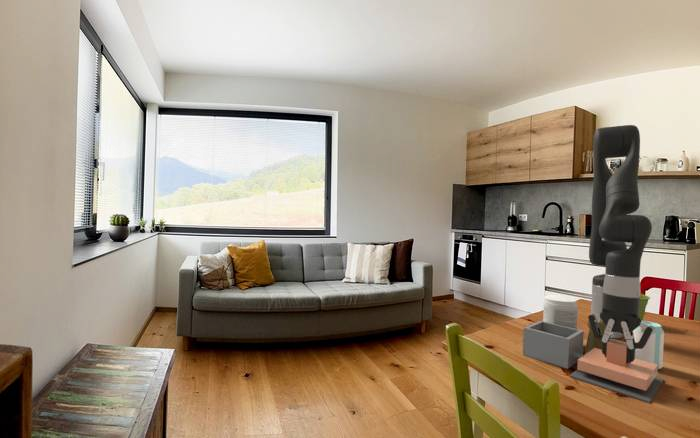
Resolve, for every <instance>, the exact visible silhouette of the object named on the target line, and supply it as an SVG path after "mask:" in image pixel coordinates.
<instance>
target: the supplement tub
mask: <svg viewBox="0 0 700 438" xmlns="http://www.w3.org/2000/svg"><path fill="white" fill-rule="evenodd" d="M578 308H579V307H578V300H577V299H576V298H573V297H570V296H569V297H568V296H564V295H557V294H556V295H555V294H554V295H553V294H551V295H545V296H544V298H543V311H542V312H543V314H542V315H543V317H542V321H544V322H548V323H553V324H557V325H561V326H565V327H569V328H574V329H578Z"/></svg>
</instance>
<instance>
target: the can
mask: <svg viewBox="0 0 700 438" xmlns="http://www.w3.org/2000/svg"><path fill="white" fill-rule="evenodd" d="M641 322H642V323H644V324H646V325H648V326H650V325H651V326H653V327H654V330H653V332H652V334H651V336H650V338H649V339H648V341H647V343H646V345H645V346H644V347H643V348H642V349H635V359H639V360H643V361H646V362H650V363H654V364H658V370H660V369H662V368H663V361H664V344H665V341H664V340H665V331H664V329H663V328H662V325H661V324H659V323H657V322H652V321H648V320H643V321H641ZM633 333H634V339H635V342H639V341H640V339H641V337H642V335H643V333H642V332H641V327H640V326H638V327H637V328H636V329H635V330H633Z"/></svg>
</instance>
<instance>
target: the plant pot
mask: <svg viewBox="0 0 700 438" xmlns="http://www.w3.org/2000/svg"><path fill="white" fill-rule="evenodd" d="M650 299H651V296H649V295H646V294H643V293H640V305H639V318H640V320H641V321H644V317H645V313H646V312H645V311H646V308H647V305H648V304H649V302H648V301H649V300H650Z"/></svg>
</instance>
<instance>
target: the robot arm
mask: <svg viewBox="0 0 700 438" xmlns="http://www.w3.org/2000/svg"><path fill="white" fill-rule="evenodd" d="M592 147H593V148H592V150H593V151H592V158H593V159H592V160H593V185H592V196H591V197H592V198H591V230H590V240H589V249H588V258H589V262H590V263H591V264H592V265H594V266H599V267H600V266H601V267H605V272H604V273H603V274H598V275H594V276H593V277H592V281H591V283H592V285H591V306H590V314H589V315H588V317H587V320H589V322H590V325H591V328H592V331H593V334H594V337H595V338H598V339H600V340H601V341H602V353H603V354H604V355H605V357H606V354H607V342H608V341H609V340H611V339H622V338H623V337H622V336H623V335H624V339H625V341H626V343H627V345H628V348H627V363H629V364H630V363H631V362H633V361H634V360H635V349H642V348H643V347H644V346H645V345H646V343H647V341H648V339H649V338H650V336H651V334H652V332H653V330H654V327H653V326H651V325H650V326H648V325H646V324H644V323H642V322H641V320H640V318H639V305H640V294H641V278H640V277H641V276H640V275H641V261H642V257H643V253H644V250H645V248H646V245H647V244H648V240H649V238H650V236H651V233H652V229H653V225H652V222H651V220H650V219H649V218H648V217H647V216H645V215H641V214H633V213H635V212H636V211H637V210H638V209H639V208H640V195H639V186H638V183H639V182H638V179H639V178H638V177H639V169H640V167H639V166H640V155H641V154H640V152H641V134H640V130H639V128H638V127H637V125H634V124H625V125H616V126H606V127H600V128H599V127H598V128H597V129H596V130H595V132H594V134H593V138H592ZM613 158H614V159H615V158H616V159H617V158H624V160H623V162H622V163H621V164H620V166H619V167H618V168H617V169H616V170H615V171H614V172H612V170H610V167H609V166H608V164H607V161H606V159H613ZM626 243H631V244H630V246H629V247H627V246H628V245H627V244H626ZM600 319H602V321H603V322H604V324H605V325H606V329H605V332H604V335H603V334H602V333H601V330H600V327H599V324H598V322H599V321H600ZM638 326H640V327H641V332H642V333H643V335H642V337H641V339H640V341H639V342H635V339H634V333H633V330H635V329H636V328H637V327H638Z"/></svg>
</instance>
